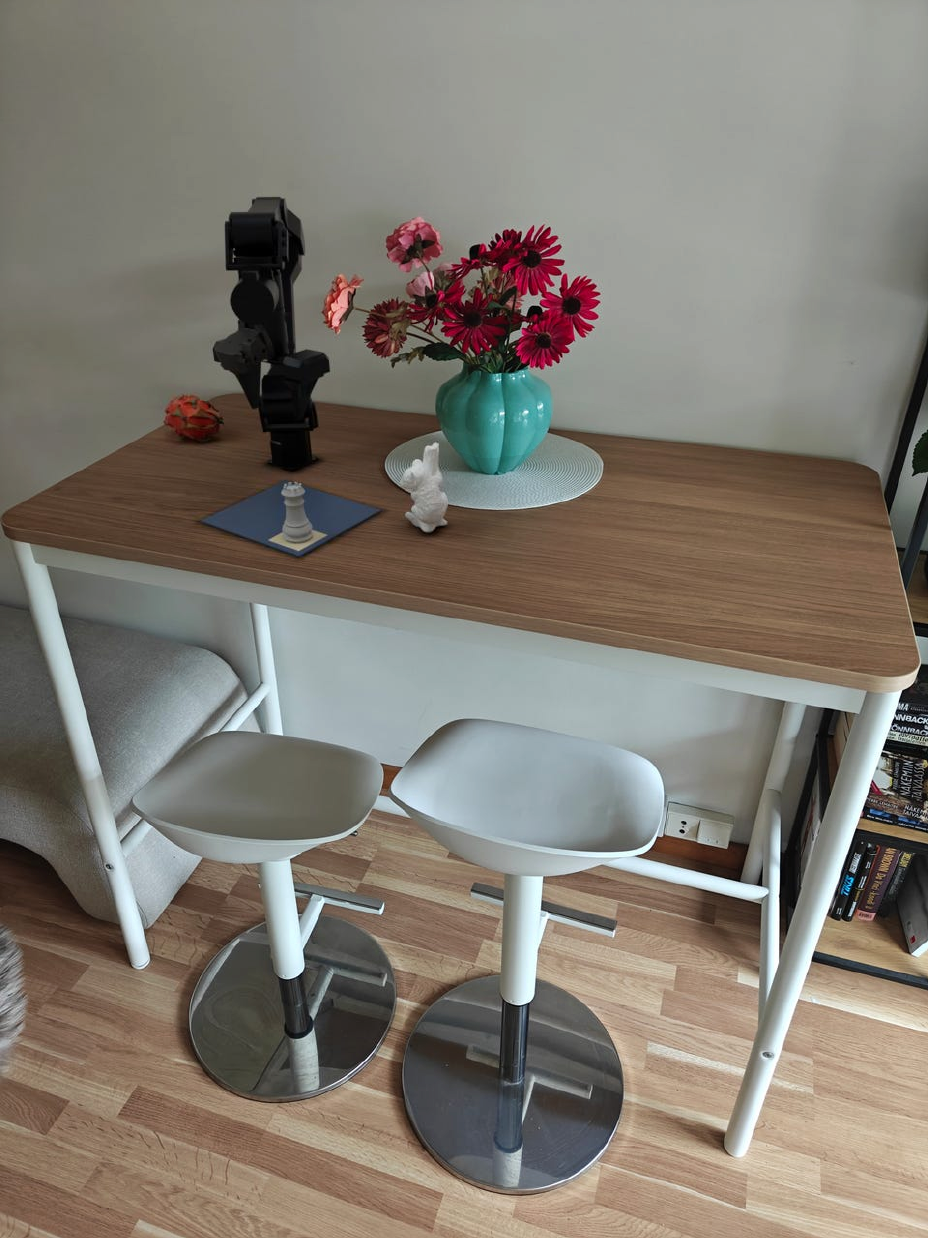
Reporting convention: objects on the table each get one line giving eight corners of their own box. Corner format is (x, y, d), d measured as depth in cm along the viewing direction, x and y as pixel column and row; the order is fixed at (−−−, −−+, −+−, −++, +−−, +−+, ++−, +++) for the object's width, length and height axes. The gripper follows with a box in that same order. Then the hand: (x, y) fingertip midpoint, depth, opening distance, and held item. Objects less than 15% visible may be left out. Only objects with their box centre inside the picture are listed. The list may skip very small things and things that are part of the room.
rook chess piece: (316, 541, 126) (310, 489, 121) (284, 545, 125) (278, 493, 120) (311, 528, 129) (306, 477, 125) (280, 532, 128) (274, 481, 124)
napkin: (285, 482, 144) (285, 480, 144) (381, 511, 135) (380, 509, 135) (201, 522, 132) (200, 520, 132) (299, 557, 122) (299, 555, 122)
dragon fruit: (171, 438, 166) (225, 456, 163) (145, 425, 157) (201, 444, 154) (186, 396, 166) (240, 413, 163) (160, 380, 157) (217, 398, 154)
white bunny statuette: (422, 510, 135) (420, 435, 129) (461, 519, 132) (461, 443, 126) (394, 533, 129) (390, 455, 122) (434, 542, 126) (433, 463, 120)
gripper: (175, 310, 125) (194, 417, 133) (270, 328, 116) (284, 442, 124) (234, 295, 132) (248, 397, 141) (327, 311, 123) (336, 419, 132)
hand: (276, 413), depth 134 cm, fingers open, 9 cm apart
